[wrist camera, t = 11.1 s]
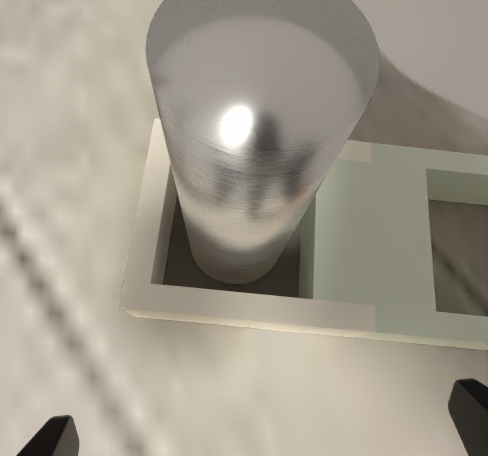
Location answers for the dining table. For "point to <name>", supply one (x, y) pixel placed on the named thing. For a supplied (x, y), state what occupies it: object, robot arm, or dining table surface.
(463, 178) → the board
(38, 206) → the dining table surface
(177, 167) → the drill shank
